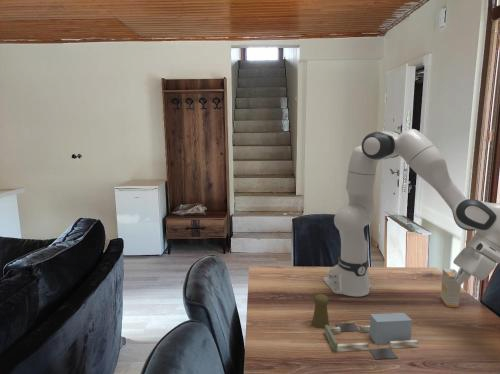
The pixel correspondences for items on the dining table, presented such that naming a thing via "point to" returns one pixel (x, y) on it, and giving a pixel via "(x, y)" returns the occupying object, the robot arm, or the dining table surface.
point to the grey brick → (390, 327)
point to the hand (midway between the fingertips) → (457, 282)
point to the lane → (377, 353)
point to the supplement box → (450, 288)
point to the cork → (320, 311)
